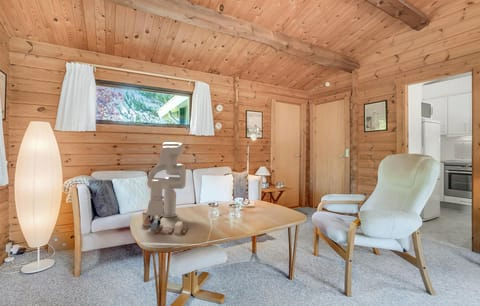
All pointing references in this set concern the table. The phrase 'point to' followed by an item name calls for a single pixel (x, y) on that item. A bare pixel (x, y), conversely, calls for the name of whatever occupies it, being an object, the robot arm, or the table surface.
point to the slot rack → (169, 231)
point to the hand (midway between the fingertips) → (155, 225)
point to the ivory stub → (178, 227)
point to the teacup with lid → (147, 219)
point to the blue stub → (154, 225)
